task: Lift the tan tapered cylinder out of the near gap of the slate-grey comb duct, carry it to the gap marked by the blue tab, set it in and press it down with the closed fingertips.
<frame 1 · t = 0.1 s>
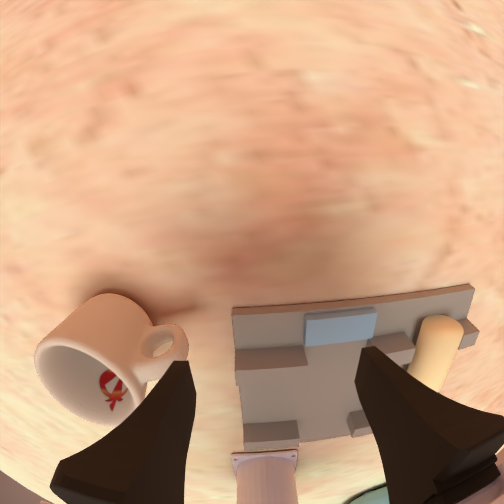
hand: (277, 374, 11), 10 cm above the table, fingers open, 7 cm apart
tan tapered cylinder: (412, 373, 24), point 1 cm above the table, touching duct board
cup: (135, 319, 22), on the table
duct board: (356, 378, 25), on the table
teapot: (385, 490, 40), on the table
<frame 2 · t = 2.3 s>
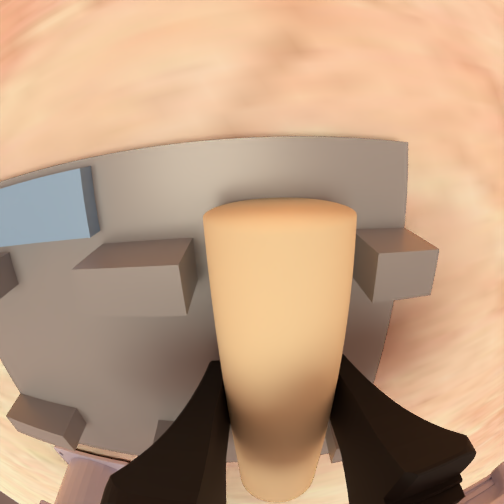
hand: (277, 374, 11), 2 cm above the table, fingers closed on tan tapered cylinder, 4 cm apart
tan tapered cylinder: (275, 363, 12), point 1 cm above the table, touching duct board, gripper
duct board: (146, 351, 13), on the table
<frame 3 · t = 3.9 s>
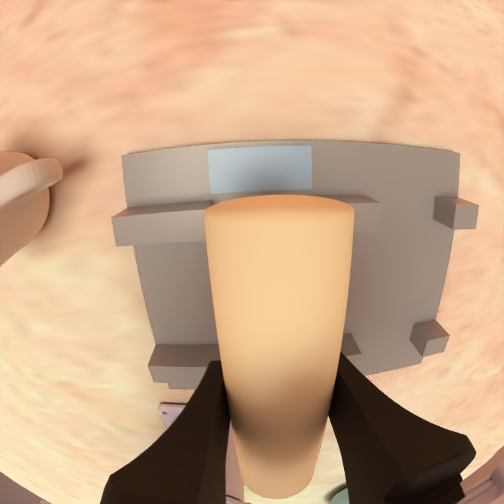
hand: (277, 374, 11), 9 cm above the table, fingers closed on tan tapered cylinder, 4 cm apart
tan tapered cylinder: (278, 359, 12), point 8 cm above the table, touching gripper
cup: (38, 187, 17), on the table
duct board: (308, 279, 19), on the table
teapot: (379, 482, 34), on the table
when the fingers open (3 cm above the table, at t = 5.3 s): tan tapered cylinder stays where it is, resting on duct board.
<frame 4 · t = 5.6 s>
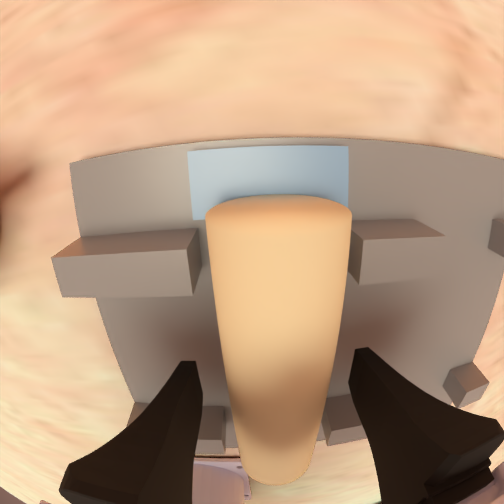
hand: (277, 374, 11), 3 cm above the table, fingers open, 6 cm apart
tan tapered cylinder: (277, 351, 13), point 1 cm above the table, tilted 5°, touching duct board
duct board: (330, 329, 14), on the table
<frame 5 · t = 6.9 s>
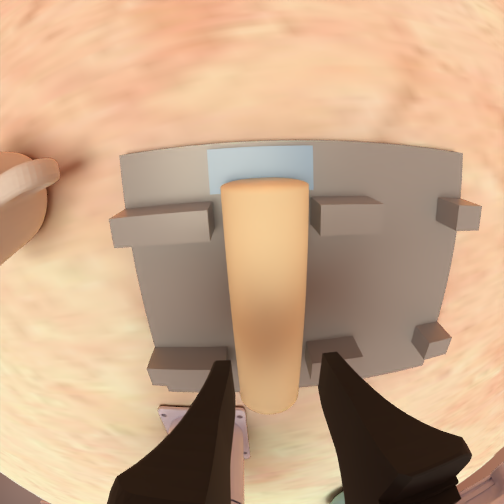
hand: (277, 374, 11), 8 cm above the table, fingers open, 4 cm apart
tan tapered cylinder: (267, 293, 18), point 1 cm above the table, tilted 5°, touching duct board
cup: (35, 188, 16), on the table
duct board: (309, 281, 19), on the table
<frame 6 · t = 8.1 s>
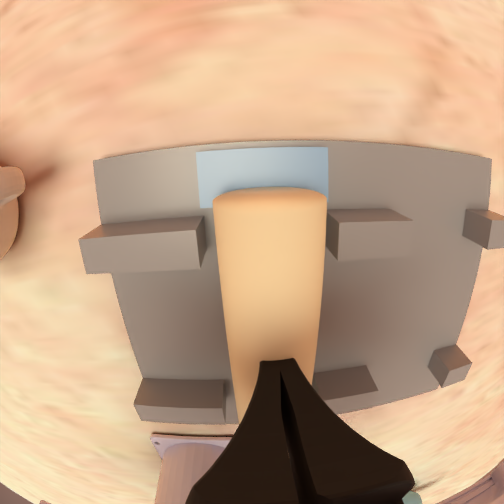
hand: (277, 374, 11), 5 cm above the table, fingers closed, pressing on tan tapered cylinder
tan tapered cylinder: (271, 324, 15), point 1 cm above the table, touching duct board, gripper
cup: (7, 198, 13), on the table
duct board: (319, 307, 16), on the table
teapot: (383, 498, 31), on the table
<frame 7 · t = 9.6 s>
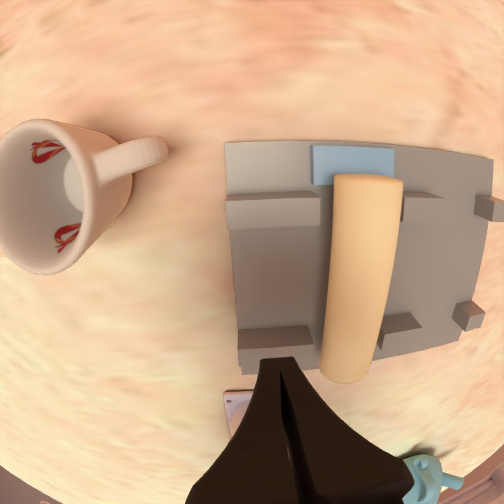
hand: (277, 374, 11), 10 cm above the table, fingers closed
tan tapered cylinder: (350, 273, 20), point 1 cm above the table, tilted 5°, touching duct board
cup: (113, 171, 18), on the table
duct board: (378, 263, 21), on the table
teapot: (406, 465, 36), on the table
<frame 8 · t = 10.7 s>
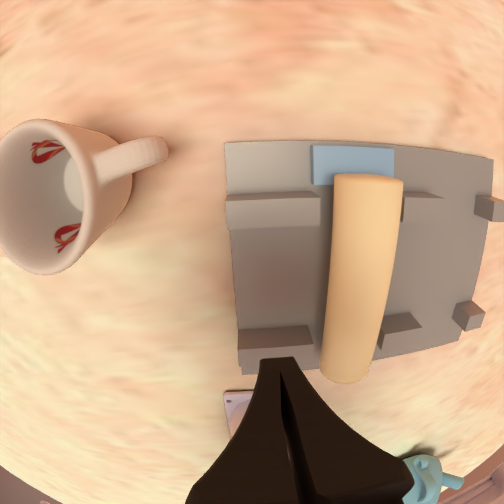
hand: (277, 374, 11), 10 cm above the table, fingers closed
tan tapered cylinder: (350, 273, 20), point 1 cm above the table, tilted 5°, touching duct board
cup: (113, 171, 18), on the table
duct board: (378, 263, 21), on the table
teapot: (406, 465, 36), on the table
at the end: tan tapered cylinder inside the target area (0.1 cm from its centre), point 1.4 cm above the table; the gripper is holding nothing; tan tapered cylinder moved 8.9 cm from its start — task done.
